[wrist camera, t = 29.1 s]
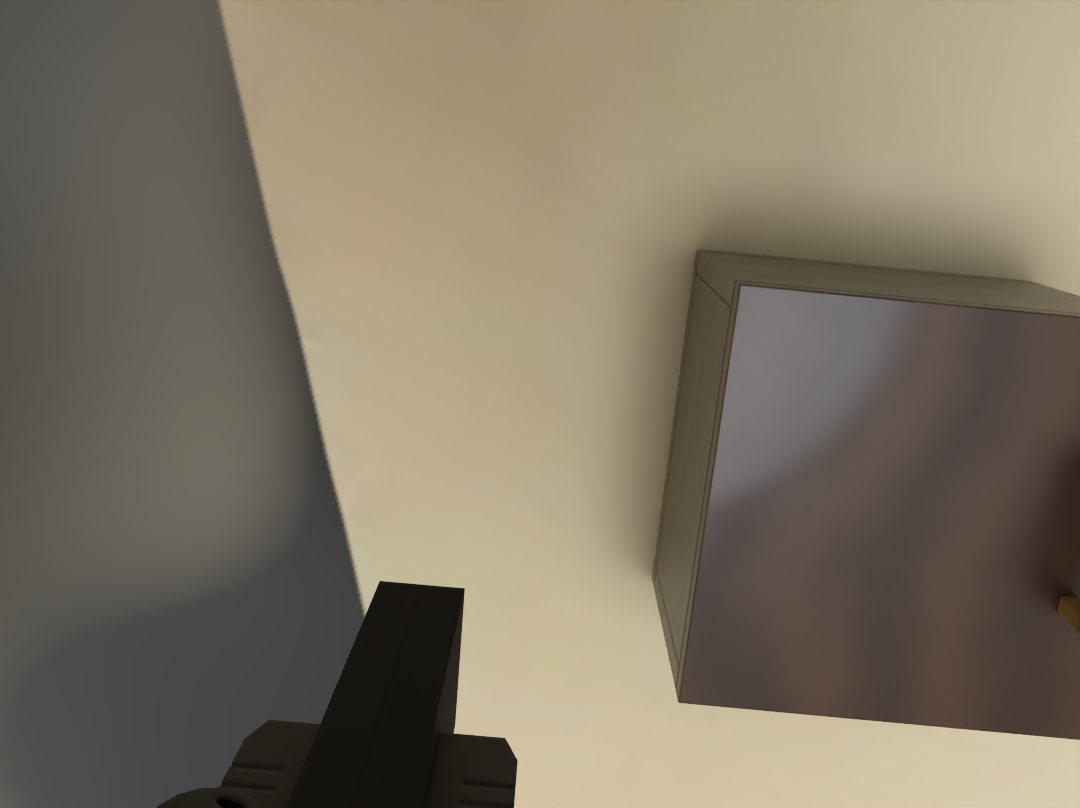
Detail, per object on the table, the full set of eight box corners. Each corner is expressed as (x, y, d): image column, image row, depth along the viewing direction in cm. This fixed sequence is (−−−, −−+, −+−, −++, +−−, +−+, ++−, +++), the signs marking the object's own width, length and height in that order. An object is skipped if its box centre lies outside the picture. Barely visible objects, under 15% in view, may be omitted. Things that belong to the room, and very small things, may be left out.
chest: (1032, 281, 44) (1165, 321, 35) (959, 609, 48) (1059, 726, 39) (696, 248, 44) (734, 279, 35) (651, 580, 48) (675, 690, 39)
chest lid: (1187, 324, 35) (1294, 355, 30) (1079, 728, 39) (1157, 815, 34) (735, 280, 34) (765, 304, 30) (675, 691, 39) (693, 773, 34)
